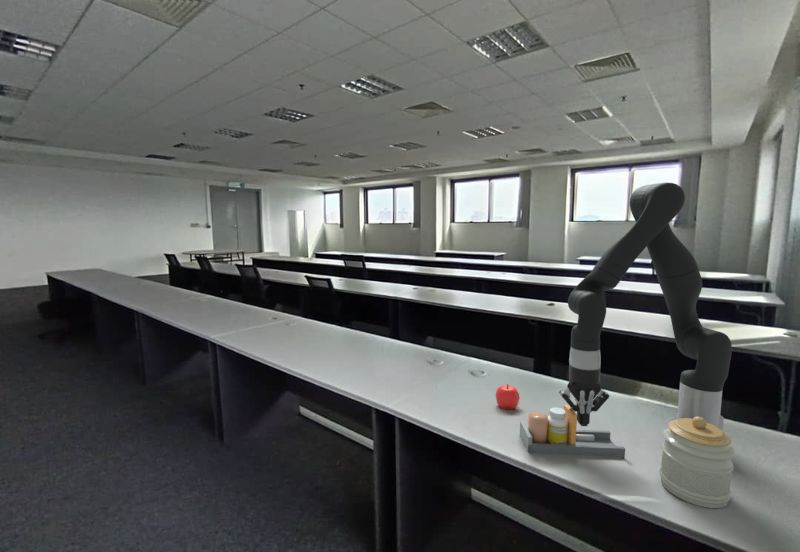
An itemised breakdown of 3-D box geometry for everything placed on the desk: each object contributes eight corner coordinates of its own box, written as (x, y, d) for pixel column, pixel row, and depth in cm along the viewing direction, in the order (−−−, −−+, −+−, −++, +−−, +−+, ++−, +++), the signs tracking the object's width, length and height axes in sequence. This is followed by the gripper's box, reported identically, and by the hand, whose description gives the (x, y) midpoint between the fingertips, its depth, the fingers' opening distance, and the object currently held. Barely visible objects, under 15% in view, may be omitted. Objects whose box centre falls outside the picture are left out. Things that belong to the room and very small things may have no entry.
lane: (608, 440, 109) (609, 423, 108) (624, 458, 100) (625, 440, 99) (519, 437, 110) (520, 420, 110) (527, 454, 101) (528, 437, 101)
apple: (490, 404, 132) (490, 382, 131) (508, 400, 135) (509, 378, 134) (505, 414, 124) (505, 390, 124) (524, 409, 128) (525, 386, 127)
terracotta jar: (543, 439, 108) (544, 412, 107) (549, 449, 103) (550, 420, 102) (525, 438, 108) (526, 411, 107) (530, 448, 103) (531, 420, 102)
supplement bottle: (549, 436, 109) (550, 404, 108) (569, 443, 106) (571, 409, 104) (543, 445, 105) (544, 411, 104) (563, 452, 101) (565, 417, 100)
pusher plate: (588, 438, 108) (589, 404, 107) (598, 451, 101) (600, 415, 100) (562, 437, 108) (563, 404, 107) (570, 450, 102) (572, 414, 101)
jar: (668, 501, 84) (674, 425, 82) (652, 467, 96) (658, 400, 94) (741, 516, 79) (750, 437, 77) (715, 479, 91) (722, 409, 89)
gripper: (564, 368, 99) (563, 431, 101) (617, 368, 98) (614, 432, 100) (554, 359, 106) (553, 418, 108) (603, 359, 105) (601, 418, 107)
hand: (583, 424), depth 104 cm, fingers closed
